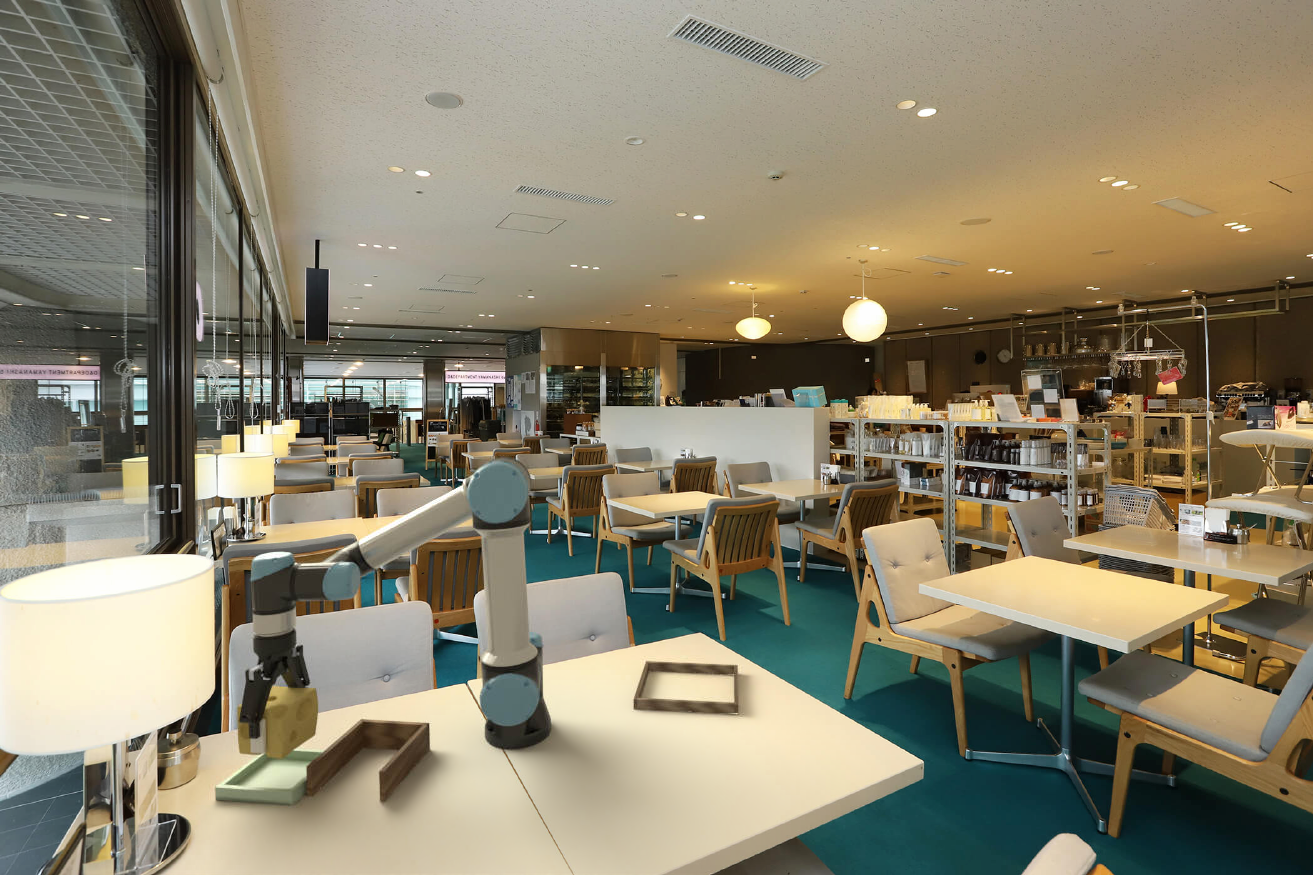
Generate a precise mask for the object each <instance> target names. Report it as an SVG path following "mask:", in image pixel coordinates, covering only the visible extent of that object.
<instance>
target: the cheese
mask: <svg viewBox="0 0 1313 875" xmlns="http://www.w3.org/2000/svg"><path fill="white" fill-rule="evenodd" d="M318 698H319V697H318V693H317V688H316V687H308V688H292V687H288V686H279V685H273V686H272V688H271V691H270V695H269V698H268V701H267V704H266V707H265V711H264V714H263V717H262V719H265V721H266V752H265V753H266V754H267V757H272V758H277V759H283V758H284V757H286V756H287V755H288V754H289V753H290V752H292V751H293V750H294V749H296V748H299V747H300V746H301V745H303V744H304V743H306V742H307V741H309V740H310V739H312V738H313V737H315V736H316V734H317V732H316V730H317V725H318V714H319V699H318ZM241 706H242V703H241V704H239V705H237V709H236V710H237V711H236V716H237V743H238V751H239V754H242V755H251V756H257V755H261V754H263V753H251V743H250V738H249V724H248V723H240V722H239V718H240V712H241ZM256 715H257V713H256Z"/></svg>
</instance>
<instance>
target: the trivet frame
mask: <svg viewBox="0 0 1313 875" xmlns="http://www.w3.org/2000/svg"><path fill="white" fill-rule="evenodd" d="M650 672H657V673H658V672H659V673H660V672H661V673H679V674H698V673H706V674H705V675H720V674H734V675H733V692H734V693H733V695H734V697H733V698H734V699H733V700H734V702H729V701H728V702H727V701H710V700H709V701H708V700H705V701H704V700H690V699H689V700H688V699H687V700H686V699H673V698H671V699H670V698H650V697H648V698H647V697H642V696H643V693H644V689H645V686H646V683H647V679H648V676H649V673H650ZM708 673H709V674H708ZM712 673H713V674H712ZM632 700H633V703H632V704H633V710H641V711H643V710H644V711H646V710H647V711H660V712H661V711H664V712H678V711H687V712H686V713H689V712H688V711H691V712H690V713H697V712H702V714H717V713H738V714H739V708H740V707H739V667H738V664H723V663H722V664H718V663H699V662H698V663H695V662H694V663H693V662H677V661H675V662H672V661H656V660H655V661H650V660H645V664H644V667H643V669H642V672H641V676H640V678H639V682H638V684H637V688H636V691H635V694H634V696H633V699H632ZM703 712H704V713H703Z"/></svg>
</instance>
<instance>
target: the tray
mask: <svg viewBox="0 0 1313 875" xmlns="http://www.w3.org/2000/svg"><path fill="white" fill-rule="evenodd" d="M325 750H326V749H318V748H315V749H313V748H299V747H297V748H296V749H294V750H293V751H292V752H290V753H289V754H288V755H287V756H286V757H284V758H283V759H277V758H272V757H267V754H266V753H264V754H261V755H255V757H253V758H252V759H250V760H249V761H248V762H246V763H245V764H244V765H242V766H241V767H240V768H239V769H238V770H236V771H235V772H234V773H232V774H230V775H229V776H228V777H226V778H225V779H224V780H223V781H221V782H219V783H218V784H217V785H216V786H215V787H214V792H215V794H214V795H215V796H214V797H215V801H228V802H229V801H231V802H240V803H241V802H243V803H256V804H266V805H267V804H269V805H281V806H283V805H285V806H293V805H294V804H296V803H297V802H298V801H299V800H300V799H301V798H302V797H303V796H304V795H306V794H307V771H306V766H308V765H309V764H310V763H311V762H312V761H313V760H314V759H316V758H317V757H318V756H319V755H320V754H321V753H323V752H324V751H325Z"/></svg>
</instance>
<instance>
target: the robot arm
mask: <svg viewBox="0 0 1313 875" xmlns="http://www.w3.org/2000/svg"><path fill="white" fill-rule="evenodd" d="M531 489H532V478H531V474H530V471H529V469H528V468H527V467H526V466H525V464H523V462H521V461H519V460H518V459H516V458H514V457H509V456H500V457H496V458H493V459H491V460H489V461H488V462H486V463H484V464H483V465H481V466H480V467H479V468H477V470H475V472H473V473H472V474H471V475H470V476H467V477H466V478H464V479H463V481H462V485H459V486H458V487H457V488H454V489H453V490H450V491H448V492H447V493H445V494H442V496H441V495H440V497H438V498H436V499H434V500H432V501H430V502H428V503H426V504H424V505H422V506H421V507H418V508H417V509H415V510H413V511H411V512H409V513H407V514H405V515H403V516H402V517H400V518H398V519H396V520H394V521H393V522H391V523H389V524H387V525H385V526H383V527H382V528H379V529H377V530H376V531H374V532H371V533H370V534H368V535H366V536H365V537H363V538H361V539H359V540H357V541H355V542H353V543H351V544H347V545H345V546H343V547H342V548H340V549H339V550H337V551H336V552H335V553H334V554H332V555H331V556H329V557H327V558H326V559H324V560H322V561H320V562H308V563H307V562H306V563H303V562H301V563H300V562H296V560H295V555H294V554H293V553H292V552H286V551H273V552H267V553H262V554H259V555H257V556H255V557H254V558H253V559H252V561H251V570H250V571H251V572H250V582H251V602H252V604H251V605H252V608H251V609H252V611H251V612H252V631H253V633H254V634H253V636H252V644H253V645H252V649H253V653H254V654H256V656H257V657H258V660H257V663H256V666H254V667H253V668H249V667H248V668H246V669H245V672H244V673H245V674H244V676H245V684H244V691H243V696H242V701H241V704H242V706H241V712H240V718H239V722H240V723H248V724H249V738H250V743H251V753H263V754H264V753H265V752H266V721H265V719H262V717H263V714H264V711H265V707H266V704H267V701H268V698H269V695H270V691H271V688H272V687H273V686H275V685H276V682H277V679H278V678H279V677H280V676H281V678H282V679H283V681H284V684H286V687H292V688H309V687H308V686H310V684H311V680H310V677H309V676H310V675H309V672H308V668H307V664H306V662H305V656H304V645H303V644H297V629H296V626H297V612H296V610H297V609H296V602H315V601H316V602H317V601H319V602H321V601H326V602H327V601H331V602H338V601H343V600H350V599H354V597H356V596H357V593H358V590H360V589H359V588H360V585H361V579H362V578H363V577H365V576H367V575H368V574H371V573H373V572H374V571H376V570H377V569H379V568H381V567H383V566H385V565H387V564H389V563H390V562H393V561H394V560H396V559H398V558H401V557H402V556H403V555H405V554H407V553H410V552H411V551H413V550H416V549H417V548H418V547H421V546H422V545H424V544H426V543H428V542H430V541H433V539H436V538H438V537H439V536H441V535H443V534H445V533H447V532H448V531H450V530H452V529H454V528H456V527H458V526H460V525H462V524H464V523H465V522H467V521H470V520H471V519H472V529H473V530H474V531H475V532H477V533H478V534H479V536H481V538H480V539H481V540H480V541H481V551H482V552H481V555H482V571H483V572H482V573H483V584H484V585H483V586H484V588H483V589H484V606H485V618H486V620H485V621H486V622H485V623H486V638H487V648H486V650H485V651H484V652H483V653H482V654H481V658H480V662H481V678H482V680H481V681H482V687H481V690H480V694H479V704H480V709H481V711H482V714H483V715H484V716H485V717H486V719H485V722H484V739H485V740H486V742H488V744H490V745H492V746H494V747H497V748H500V749H501V748H502V749H521V748H526V747H530V746H534V745H536V744H539V743H540V742H542V741H544V740H545V739H546V738H547V737H548V736H549V735H550V733H551V731H552V718H551V715H550V712H549V709H548V706H547V703H546V701H545V698H544V672H543V671H544V668H543V667H544V664H543V662H544V661H543V660H544V659H543V658H544V657H543V656H544V655H543V654H544V653H543V648H544V645H543V644H544V643H543V638H542V635H541V634H539V633H537V632H536V631H535V632H533V631H530V622H529V620H530V619H529V604H528V587H527V569H526V554H525V553H526V551H525V533H524V532H525V531H526V529H528V527H529V526H530V525H531V508H530V506H531V505H530V492H531ZM264 678H265V679H264ZM256 713H257V715H256Z"/></svg>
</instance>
